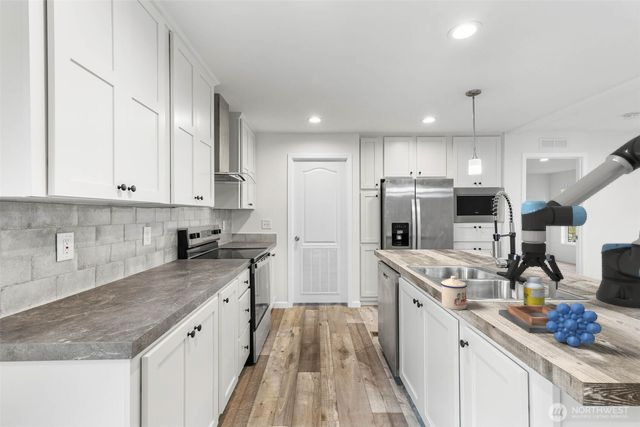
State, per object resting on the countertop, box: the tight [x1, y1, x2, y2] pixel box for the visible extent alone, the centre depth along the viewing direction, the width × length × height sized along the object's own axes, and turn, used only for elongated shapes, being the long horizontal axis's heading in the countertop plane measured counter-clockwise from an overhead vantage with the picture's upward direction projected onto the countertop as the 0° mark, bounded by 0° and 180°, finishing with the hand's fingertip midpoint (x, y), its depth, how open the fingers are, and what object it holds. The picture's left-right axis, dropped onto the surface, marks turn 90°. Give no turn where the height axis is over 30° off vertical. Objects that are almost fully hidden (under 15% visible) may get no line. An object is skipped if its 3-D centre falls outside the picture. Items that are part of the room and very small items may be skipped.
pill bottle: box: [522, 274, 546, 306], centre depth 109 cm, size 6×6×12 cm
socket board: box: [498, 304, 556, 334], centre depth 95 cm, size 16×16×4 cm
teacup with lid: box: [440, 275, 468, 311], centre depth 112 cm, size 12×9×12 cm
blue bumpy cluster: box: [546, 302, 603, 348], centre depth 79 cm, size 12×7×12 cm, turn 36°
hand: (533, 298), depth 109 cm, fingers open, 13 cm apart
